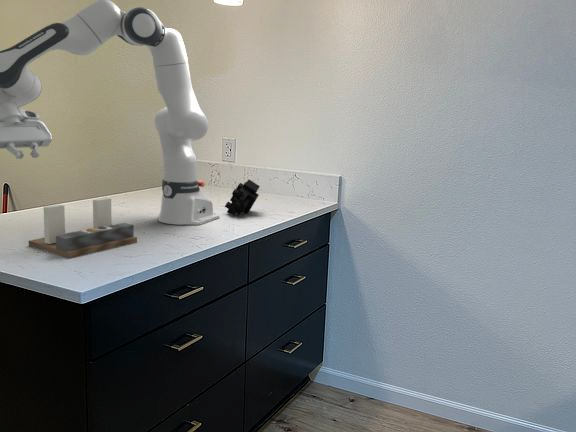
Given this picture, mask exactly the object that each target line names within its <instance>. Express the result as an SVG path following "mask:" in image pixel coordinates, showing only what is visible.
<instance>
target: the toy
mask: <svg viewBox="0 0 576 432" xmlns="http://www.w3.org/2000/svg"><path fill="white" fill-rule="evenodd" d="M260 187H261V186H260V185H258V184H257V183H255V182H254V181H253V180H251V179H248V180H247V181H245V182H244V183H242V182H239V183H238V185H237V186H236V188H234V189H233V191H232V192H231V195H232V196H231V198H230V200H229V201H227V202H226V204H225V206H224V208H226V209H227V211H226V213H228V214H229V215H230V214H231V215H232V216H234V217H235V216H236V214H237V215H239V216H241V215H242V214H245V215H248V214H249V212H250V211H251V209H252V207H253V206H254V204H255V202H256V201H257V199H258V197H259V196H260V194H259V193H257V192H258V190H259V189H260Z"/></svg>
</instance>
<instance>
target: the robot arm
mask: <svg viewBox="0 0 576 432" xmlns="http://www.w3.org/2000/svg"><path fill="white" fill-rule="evenodd" d="M115 36H117V37H118V38H120V39H121V40H123V41H124V42H125V43H127V44H129V45H132V46H139V47H140V46H145V47H147V48H148V50H149V51H150V54H151V56H152V62H153V68H154V75H155V80H156V86H157V90H158V93H159V94H160V95H161V97H162V99H163V101H164V104H165V106H166V107H163V108H162V109H159V110H158V111H157V113H156V114H155V116H154V127H155V129H156V130H157V132H158V135H159V136H158V137H159V140H160V145H161V150H162V156H163V157H162V159H163V179H162V183H161V190H162V196H161V203H160V213H159V214H158V221H159V222H160V223H163V224H168V225H180V226H181V225H195V226H198V225H202V224H205V223H209V222H212V221H214V220H217V219H219V218H220V215H219V214H218V213H215V212H214V207H213V202H212V200H210V198H209V197H207V196H206V195H205V194H204V193H203V192H201V191H200V187H201V188H202V187H203V188H204V187H205V184H206V182H205V181H202V180H197V157H196V154H195V152H194V150H193V146H192V142H193V141H194V142H195V141H198V140H200V139H202V138H204V137H205V136H206V134H207V133H208V129H209V121H208V117H207V116H206V115H205V113H204V112H203V111H202V109H201V107H200V105H199V102H198V99H197V97H196V94H195V91H194V89H193V85H192V84H193V83H192V78H191V74H190V73H191V72H190V68H189V61H188V55H187V51H186V46H185V44H184V41H183V37H182V35H181V33H180V32H179V31H178V30H176V29H174V28H169V27H168V28H167V27H165V26H164V24H163V23H162V22H161V21H160V19H159V18H158V16H157V15H156V14H155V13H154V12H153V11H152V10H151V9H148V8H146V7H141V6H140V7H139V6H138V7H134V8H130V9H129V10H125V11H123V10H121V9H120V8H119V7H118V5H116V3H114V2H113V1H111V0H97V1H95V2H93V3H91V4H89V5H88V6H86V7H84V8H83V9H82V10H80V11H79V12H77V13H76V14H75V15H74V16H72V17H70V18H69V19H67V20H65V21H62V22H54V23H51V24H48V25H46V26H45V27H43V28H41V29H39V30H37V31H35V33H33V34H31V35H29V36H28V37H25V38H24V39H22V40H21V41H19V42H18V43H16V44H14V45H12V46H10V47H8V48H5V49H2V50H0V150H3V149H6V150H7V151H8V152H9V153H11V154H12V155H14V158H16V159H17V160H19V159H21V160H22V159H23V158H24V157H25V156H24V155H25V154H24V153H23V151H22V150H19V149H21V148H22V149H25V148H29V149H30V150H31V152H30V153H29V155H30V156H31V158H32V159H34V158H35V159H38V158H39V156H40V152H39V151H38V149H39V147H42V148H43V147H45V148H46V147H49V146H50V145H51V143H52V140H53V135H52V133H51V132H50V130H49V129H48V126H47V125H46V124H45V123H44V122H43V121H42V120H40V115H39V114H38V113H37V112H34V111H31V110H27V109H24V108H21V107H23V106H25V105H28V104H29V103H32V102H33V101H35V100H36V99H37V98H38V97H39V96H40V94H41V92H42V89H43V88H42V86H43V85H42V81H41V80H40V79H39V77H37V75H36V74H35V73H34V72H33V71H32V70H30V69H29V68H28V65H29V64H31V63H33V62H35V61H36V60H37V59H40V58H41V57H42V56H44V55H45V54H47V53H49V52H51V51H55V50H60V51H61V50H62V51H65V52H67V53H69V54H72V55H75V56H76V55H77V56H87V55H89V54H92V53H93V52H95V51H96V50H98V49H99V48H100V47H101V46H102V45H103V44H105V43H106V42H107V41H108V40H110V39H112V38H113V37H115Z"/></svg>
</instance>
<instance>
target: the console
mask: <svg viewBox="0 0 576 432" xmlns="http://www.w3.org/2000/svg"><path fill="white" fill-rule="evenodd" d="M134 226H135V225H134V224H131V223H130V224H129V223H127V222H122V223H118V224H112V225H111V226H102V227H98V228H93V227H92V228H88V229H87V228H86V229H81V230H77V231H72V232H65V234H64V235H59V236H56V243H52V244H47V243H45V237H41V238H35V239H30V240H27V241H28V242H27V243H28V246H29V245H30V246H29V247H31V246H32V248H34V247H35V248H34V249H37V248H38V250H40V249H41V251H44V250H45V251H44V252H47V251H48V253H50V252H51V254H53V253H54V254H55V255H57V256H60V257H63V258H67V259H72V258H78V257H82V256H86V255H89V254H94V253H98V252H102V251H106V250H111V249H115V248H120V247H124V246H129V245H132V244H137V243H138V237H136V236H135V232H134V231H135V230H134ZM85 254H86V255H85ZM81 255H82V256H81ZM77 256H78V257H77Z"/></svg>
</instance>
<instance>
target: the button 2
mask: <svg viewBox="0 0 576 432" xmlns="http://www.w3.org/2000/svg"><path fill="white" fill-rule="evenodd" d="M92 219H93V220H92V221H93V222H92V225H93V226H92V228H98V227H102V226H111V225H113V224H112V198H109V197H103V198H95V199H92Z"/></svg>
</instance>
